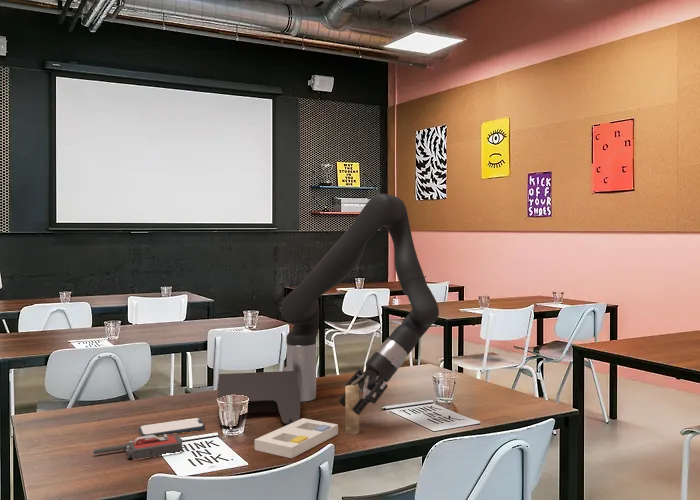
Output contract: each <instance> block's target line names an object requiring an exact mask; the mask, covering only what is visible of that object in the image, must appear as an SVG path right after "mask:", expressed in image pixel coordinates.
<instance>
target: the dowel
mask: <svg viewBox="0 0 700 500" xmlns="http://www.w3.org/2000/svg"><path fill="white" fill-rule="evenodd" d="M344 390H345V392H344V393H345V398H346V406H345V434H347V435H351V436H354V435H355V436H356V435H358V434H359V433H360V414H359V415H357V414H356V413H355V412H354V411H353V410H352V409H353V407H354V406H355V405H356V403H357V402H358V401H359V400H360V392H359V386H357V385H351V384H350V385H347V386H345V389H344Z"/></svg>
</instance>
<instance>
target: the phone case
mask: <svg viewBox="0 0 700 500" xmlns="http://www.w3.org/2000/svg"><path fill="white" fill-rule="evenodd" d="M204 429H205V430H206V425H205V424H204V422H203V421H202V420H201V418H199V417H195V418H188V419H186V418H185V419H179V420H174V421H173V420H172V421H166V422H157V423H154V424H153V423H151V424H150V423H149V424H145V425H140V426H139V427H138V432H139V431H140V432H139V435H140V434H141V435H140V436H147V435H155V436H159V435H164V434H173V433H182V432H191V431H199V432H202V431H201V430H203V431H205V430H204Z"/></svg>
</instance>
